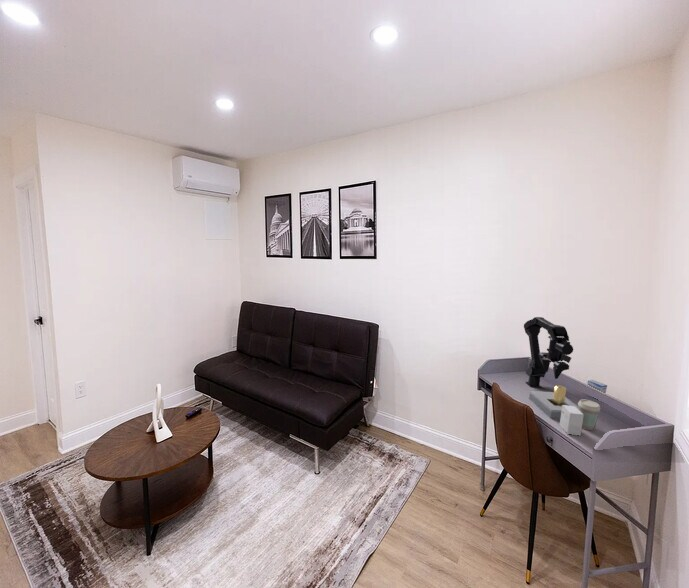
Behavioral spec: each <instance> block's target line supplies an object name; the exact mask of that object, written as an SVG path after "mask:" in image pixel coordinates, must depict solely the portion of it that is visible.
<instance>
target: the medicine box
mask: <svg viewBox="0 0 689 588" xmlns="http://www.w3.org/2000/svg"><path fill="white" fill-rule="evenodd" d="M587 385H589V386H591V387H593V388H595V389H597V390H599V391H601V392H603V393H606V392H607V388H608V384H604V383H602V382H600V381H597V380H594V379H590V380H587V382H586V386H587Z"/></svg>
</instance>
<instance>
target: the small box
mask: <svg viewBox="0 0 689 588" xmlns="http://www.w3.org/2000/svg"><path fill="white" fill-rule="evenodd" d="M583 416H584V414H582V413H581V412H580V411H579V410H578V409H577V408H576V407H575V406H568V405H562V411H561V418H560V419H559V427H560V428H561V429H564V430H565V431H566V432H567V433H566V432H565V431H564V430H563V431H564V432H565V433H566V435H569V434H572V435H571V436H577V435H579V436H581V435H582V434H581V433H582V429H583V428H582V423H583Z"/></svg>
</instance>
